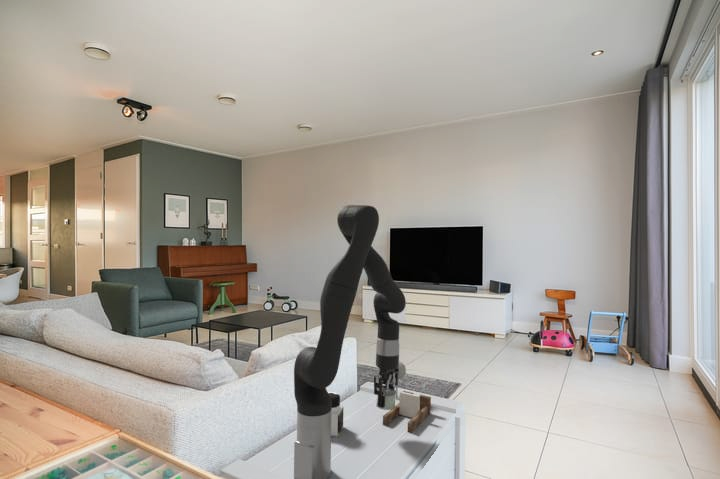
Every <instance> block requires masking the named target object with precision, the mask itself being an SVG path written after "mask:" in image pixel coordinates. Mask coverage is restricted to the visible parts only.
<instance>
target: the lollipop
mask: <svg viewBox="0 0 720 479" xmlns="http://www.w3.org/2000/svg"><path fill="white" fill-rule="evenodd" d="M398 368H399V375H398V380H401V379H403V378H404V377H405V375H406V373H407V369H406V366H405V364H404V363H403V362H402V361H401V360H399V366H398ZM398 385H399V384H398ZM398 385H397V386H395V390H396V394H395V400H398V392H399V391H398V389H399V388H398Z"/></svg>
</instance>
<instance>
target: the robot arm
mask: <svg viewBox="0 0 720 479" xmlns="http://www.w3.org/2000/svg"><path fill="white" fill-rule="evenodd" d="M336 218H337V220H336V221H337V226H338V229H339V230H340V232H341V234H342V236H343V237H344V239H345V240H346V242H347V243H348V248H347V250H346V251H345V254H343V256H342V257H341V258H340V259H339V260H338V261H337V263H335V265H334V266H333V267H332V269H330V271H329V272H328V274H327V276H326V279H325V281H324V284H323V288H322V292H321V295H320V301H319V307H320V308H319V309H320V324H321V325H320V326H321V327H320V334H319V338H318V340H317V341H318V342H317V345H316V347H315V346H307V347H305V348H303V349H301V351H299V353H298V354H297V356H296V358H295V361H294V366H293V383H294V384H293V385H294V388H293V390H294V392H293V393H294V398H295V402H296V405H297V406H296V408H297V409H296V410H297V411H296V415H297V416H296V440H295V441H294V443H293V444H294V445H293V446H294V447H293V453H294V454H293V456H294V457H293V461H294V462H293V478H294V479H328V478H329V477H330V476H331V472H332V470H331V469H332V468H331V464H332V463H331V462H332V457H331V456H332V436H331V414H332V401H331V397H330V395H329V394H328V392H329V391H328V390H327V388H328V387H330V385H331V384H332V383H333V381H335V379H336V376H337V374H338V370H339V366H340V361H341V354H342V350H343V344H344V338H345V335H346V331H347V329H348V328H347V327H348V324H349V323H348V322H349V320H350V315H351V312H352V309H353V306H354V302H355V299H356V296H357V292H358V289H359V288H358V287H359V283H360V279H361V276H362V273H363V270H364V272H365V275H366V277H367V279H368V281H369V283H370V286H371V289H372V290H373V291H375V292H376V293H375V295H374V298H373V302H372V303H373V309H374V314H375V318H376V322H377V338H376V339H377V340H376V348H375V351H376V354H375V366H376V367H377V369H379V371H378V375H374V377H373V394H374V395H376V396H377V395H378V407H381V408H384V407H385V393H386V389H388V387H389V388H393V389H395V390H396V386H397V385H399V384H398V383H399V379H398V375H399V368H398V366H399V361H400V323H399V321H397V320H395V319H394V318H392V317H391V316H390V314H400V313H402V312H403V311H404V310H405V308H406V304H407V302H406V297H405V294H404V292H403V291H402V290H401V288H400V287H399V285H398V284H397V283H396V282H395V280H394V279H393V278H392V275H391V271H390V270H389V267H388V265H387V263H386V261H385V259H384V258H383V257H382V256H381V255H380V254H379V253H378V251H376V249H375V248H374V247H373V245H372V244H373V243H374V240H375V237H376V234H377V232H378V229H379V223H380V216H379V212H378V210H377V208H376V207H375V206H371V205H366V204H363V205H360V204H359V205H357V204H350V205H349V204H348V205H344V206H343V207H341V209H339V211H338V214H337V217H336ZM389 313H390V314H389ZM377 389H378V390H377ZM378 407H377V408H378Z"/></svg>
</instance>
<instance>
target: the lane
mask: <svg viewBox="0 0 720 479" xmlns="http://www.w3.org/2000/svg"><path fill="white" fill-rule="evenodd" d="M402 392H405V393H410V394H414V393H413V392H411V391H406V390H403V391H402ZM414 395H415V394H414ZM419 396H420V412H419V413H417V414H416V415H415V416H414V417H413V418H410V420H409V421H408V422H407V433H410V434H412V432H413V431H414V430H416V428H417V427H418V426H419V425H420V424H421V423H422V422H423V421H424V420H425V419H426V418H427V417H428V416H430V415H431V413H432V410H431V407H432V406H431V405H432V404H431V402H432V397H431V396H428V395H424V394H420V395H419ZM398 416H400V415H399V403H397V404H395V408H394V409H391V410H388V411H387V412H386V413H385V414H384V415H382V425H383V426H385V427H386V426H387V425H389V424H390V423H392V421H393V420H394V419H396V418H397V417H398Z"/></svg>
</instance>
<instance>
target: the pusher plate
mask: <svg viewBox="0 0 720 479" xmlns="http://www.w3.org/2000/svg"><path fill="white" fill-rule="evenodd" d="M398 404H399V415H398V416H400V415H401V416H404V417H408V418H410V419H412V418H413V417H414V416H415V415H416V414H417V413H419V412H420V395H418V394H410V393H405V392H403V391H399V402H398Z"/></svg>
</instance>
